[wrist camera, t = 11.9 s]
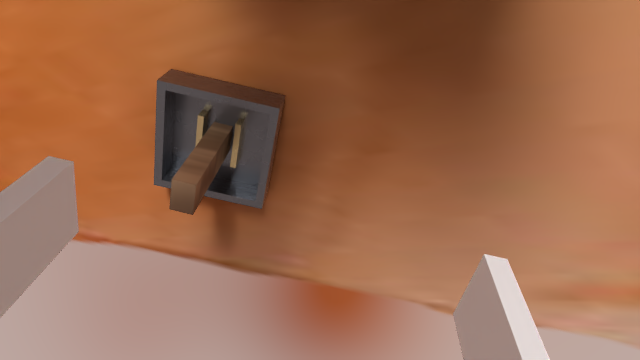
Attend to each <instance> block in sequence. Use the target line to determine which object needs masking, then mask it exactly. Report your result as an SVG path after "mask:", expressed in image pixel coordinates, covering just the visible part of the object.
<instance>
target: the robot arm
mask: <svg viewBox="0 0 640 360" xmlns="http://www.w3.org/2000/svg"><path fill="white" fill-rule="evenodd" d="M78 232H79V231H78V217H77V204H76V190H75V176H74V163H73V161H68V160H64V159H60V158H55V157H51V156H48V157H47V158H45V159H44V160H43V161H41V162H40V163H39V164H37V165H36V166H35V167H33V168H32V169H31V170H29V171H28V172H27V173H25V174H24V175H23V176H21V177H20V178H19V179H18V180H16V181H15V182H14V183H12V184H11V185H10V186H8V187H7V188H6V189H4V190H3V191H2V192H0V318H1V317H2V316H3V314H4V313H5V312H6V311H7V310H8V309H9V308H10V307H11V306H12V304H13V303H14V302H15V301H16V300H17V299H18V298H19V297H20V296H21V295H22V294H23V292H24V291H25V290H26V289H27V288H28V287H29V286H30V285H31V284H32V282H33V281H34V280H35V279H36V278H37V277H38V276H39V275H40V273H42V271H43V270H44V269H45V268H46V267H47V266H48V265H49V264H50V262H52V260H53V259H54V258H55V257H56V256H57V255H58V254H59V253H60V251H62V249H63V248H64V247H65V246H66V245H67V244H68V243H69V242H70V241H71V240H72V238H73V237H74V236H75V235H76V234H77V233H78ZM453 316H454V320H455V324H456V329H457V333H458V337H459V341H460V346H461V350H462V355H463V359H464V360H550V359H549V357H548V354H547V352H546V349H545V347H544V345H543V342H542V340H541V338H540V335H539V333H538V331H537V328H536V326H535V323H534V321H533V319H532V316H531V314H530V312H529V309H528V307H527V305H526V302H525V300H524V298H523V295H522V293H521V290H520V288H519V286H518V283H517V281H516V279H515V276H514V274H513V272H512V269H511V267H510V265H509V262H508V260H507V259H504V258H500V257H495V256H491V255H486V254H484V255H483V257H482V259H481V261H480V263H479V265H478V267H477V269H476V271H475V273H474V275H473V276H472V278H471V280H470V282H469V284H468V286H467V288H466V290H465V292H464V294H463V296H462V298H461V300H460V302H459V303H458V305H457V307H456V309H455V311H454V313H453Z"/></svg>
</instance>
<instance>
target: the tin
mask: <svg viewBox="0 0 640 360" xmlns="http://www.w3.org/2000/svg"><path fill="white" fill-rule="evenodd" d="M284 101H285V95H281V94H276V93H272V92H268V91H264V90H259V89H255V88H251V87H246V86H242V85H238V84H234V83H229V82H225V81H221V80H216V79H212V78H208V77H204V76H199V75H195V74H191V73H186V72H182V71H178V70H174V69H171V70H169V71H168V72H167V73H166V74H164V75H163V76H162V77H160V78H159V79H158V80H157V100H156V133H155V166H154V185H157V186H162V187H166V188H171V182H172V178H173V177H174V176H175V174H176V173H177V171H178V170H179V169H180V167H181V166H182V165H183V163H184V162H185V161H186V159H187V158H188V156H189V155H190V154H191V152H192V151H193V150H194V148H195V147H196V145H197V144H198V143H199V141H200V140H201V139H202V137H203V136H204V135H205V133H206V132H207V130H208V129H209V128H210V126H211V125H212V124H213V122H217V123H221V124H225V125H229V126H233V129H232V136H231V143H230V150H229V153H228V154H227V156H226V158H225V160H224V161H223V163H222V165H221V167H220V168H219V170H218V172H217V174H216V175H215V177H214V179H213V181H212V182H211V184H210V186H209V188H208V189H207V191H206V193H205V195H204V196H207V197H211V198H215V199H220V200H224V201H229V202H233V203H238V204H242V205H247V206H251V207H256V208H260V209H262V207H263V204H264V201H265V198H266V195H267V193H268V188H269V183H270V177H271V172H272V166H273V161H274V155H275V150H276V145H277V139H278V134H279V128H280V123H281V117H282V112H283V106H284Z"/></svg>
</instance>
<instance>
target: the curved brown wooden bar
mask: <svg viewBox="0 0 640 360" xmlns="http://www.w3.org/2000/svg"><path fill="white" fill-rule="evenodd" d="M232 129H233V126H229V125H225V124H221V123H217V122H213V124H212V125H211V126H210V128H209V129H208V130H207V132H206V133H205V135H204V136H203V137H202V139H201V140H200V141H199V143H198V144H197V145H196V147H195V148H194V150H193V151H192V152H191V154H190V155H189V156H188V158H187V159H186V161H185V162H184V163H183V165H182V166H181V167H180V169H179V170H178V171H177V173H176V174H175V176H174V177H173V178H172V182H171V196H170V209H171V210H175V211H179V212H183V213H187V214H192V215H193V214H194V212H195V210H196V209H197V207H198V205H199V203H200V202H201V200H202V198H203V196H204V195H205V193H206V191H207V189H208V188H209V186H210V184H211V182H212V181H213V179H214V177H215V175H216V174H217V172H218V170H219V168H220V167H221V165H222V163H223V161H224V160H225V158H226V156H227V154H228V153H229V150H230V143H231V136H232Z"/></svg>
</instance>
